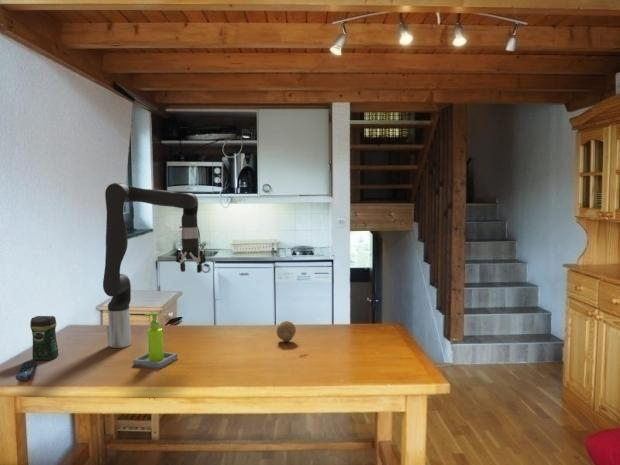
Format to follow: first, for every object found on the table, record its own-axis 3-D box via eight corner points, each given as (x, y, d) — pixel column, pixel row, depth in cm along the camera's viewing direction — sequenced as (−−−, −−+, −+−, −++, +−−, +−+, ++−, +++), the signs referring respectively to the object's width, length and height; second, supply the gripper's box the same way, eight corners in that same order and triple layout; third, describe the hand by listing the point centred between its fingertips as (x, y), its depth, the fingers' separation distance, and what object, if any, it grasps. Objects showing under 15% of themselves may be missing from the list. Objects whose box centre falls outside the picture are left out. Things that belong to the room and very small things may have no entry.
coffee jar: (61, 355, 212) (59, 313, 210) (50, 361, 204) (47, 318, 202) (41, 354, 213) (38, 313, 211) (29, 361, 205) (26, 318, 203)
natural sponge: (293, 345, 221) (292, 324, 220) (274, 344, 222) (274, 323, 221) (297, 339, 229) (297, 319, 228) (279, 338, 231) (279, 318, 230)
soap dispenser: (148, 357, 205) (146, 311, 203) (165, 357, 205) (163, 311, 204) (144, 362, 199) (142, 315, 197) (162, 362, 200) (159, 315, 198)
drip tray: (133, 365, 199) (133, 359, 198) (152, 355, 210) (152, 350, 210) (159, 369, 194) (159, 363, 194) (177, 359, 205) (177, 353, 205)
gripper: (171, 237, 219) (173, 272, 220) (198, 238, 214) (200, 274, 215) (181, 235, 226) (182, 270, 227) (207, 236, 221) (209, 271, 222)
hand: (191, 272), depth 221 cm, fingers open, 8 cm apart
